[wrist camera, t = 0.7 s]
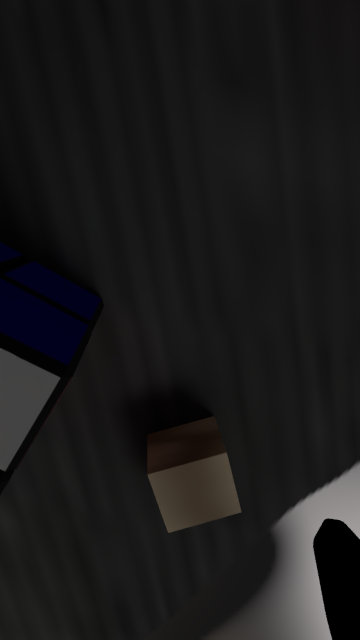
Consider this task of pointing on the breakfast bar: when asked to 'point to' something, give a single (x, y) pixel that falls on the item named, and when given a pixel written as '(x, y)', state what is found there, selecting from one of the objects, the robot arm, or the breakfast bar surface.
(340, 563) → the robot arm
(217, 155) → the breakfast bar surface
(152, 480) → the oak block
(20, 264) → the puzzle cube
